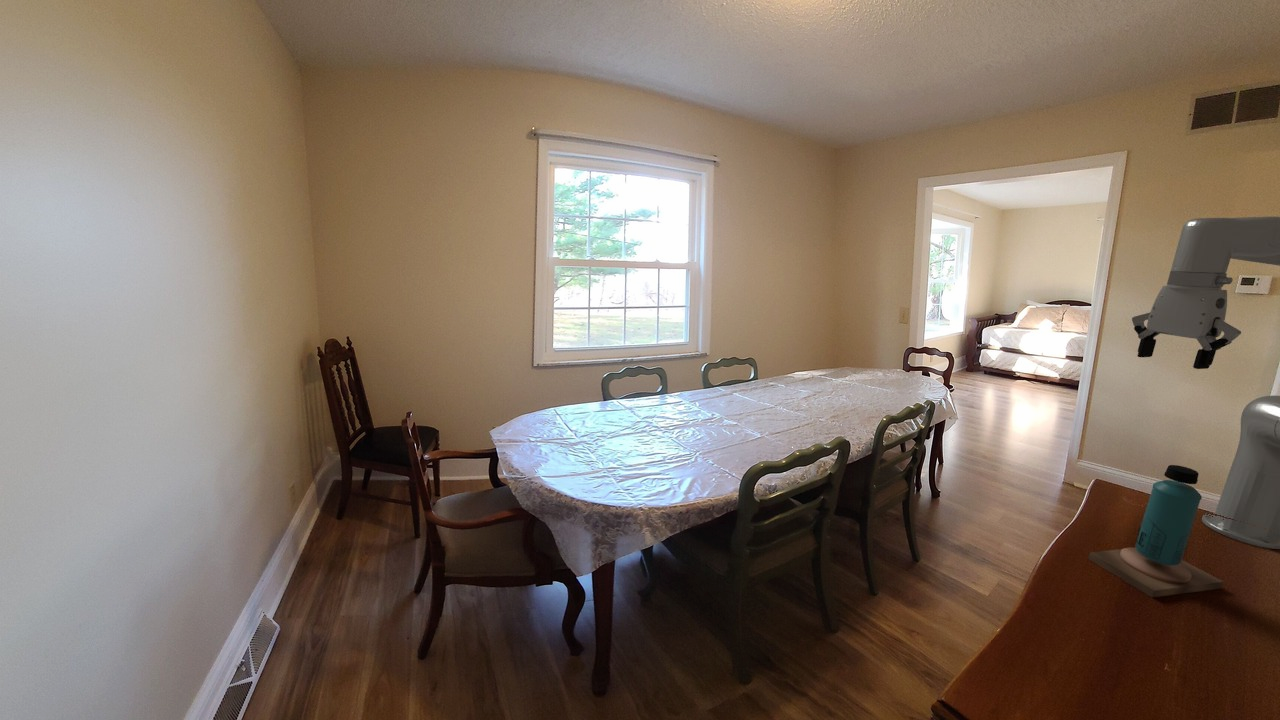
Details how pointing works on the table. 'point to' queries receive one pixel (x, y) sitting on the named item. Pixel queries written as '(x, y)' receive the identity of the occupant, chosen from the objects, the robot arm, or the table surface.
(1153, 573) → the rectangular slab with oval
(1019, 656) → the table surface
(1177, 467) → the beverage bottle
